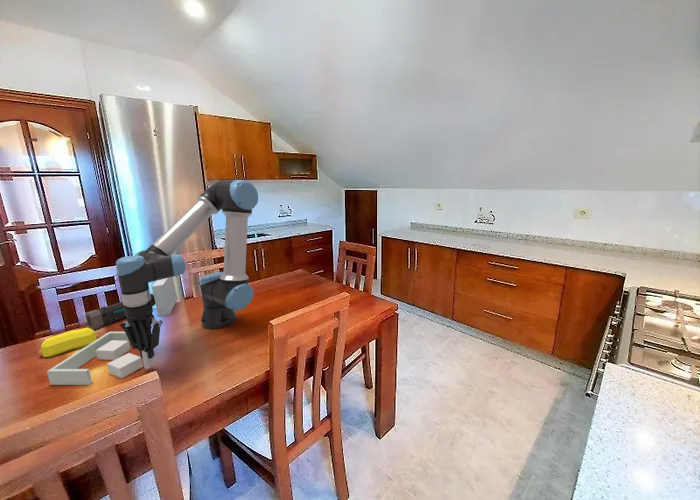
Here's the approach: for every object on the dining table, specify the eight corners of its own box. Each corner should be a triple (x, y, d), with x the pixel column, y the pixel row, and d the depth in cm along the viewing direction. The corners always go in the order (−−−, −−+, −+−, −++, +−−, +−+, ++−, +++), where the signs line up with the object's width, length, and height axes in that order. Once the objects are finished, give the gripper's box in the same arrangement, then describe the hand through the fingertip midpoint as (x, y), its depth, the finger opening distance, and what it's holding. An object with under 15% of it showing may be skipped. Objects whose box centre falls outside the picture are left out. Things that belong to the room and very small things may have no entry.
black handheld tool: (162, 311, 156) (93, 331, 130) (155, 312, 159) (86, 331, 133) (158, 291, 156) (89, 306, 129) (151, 292, 159) (81, 307, 132)
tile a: (130, 350, 117) (128, 340, 116) (115, 360, 110) (113, 351, 109) (113, 349, 117) (111, 340, 117) (97, 359, 111) (95, 350, 110)
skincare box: (166, 300, 164) (161, 272, 160) (177, 299, 166) (173, 271, 162) (156, 316, 144) (151, 285, 141) (169, 314, 146) (164, 284, 143)
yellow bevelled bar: (39, 353, 115) (39, 362, 109) (34, 338, 113) (34, 346, 108) (99, 336, 127) (101, 343, 122) (96, 322, 126) (98, 328, 120)
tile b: (143, 367, 106) (141, 357, 105) (121, 379, 100) (119, 368, 99) (130, 362, 109) (128, 352, 108) (109, 373, 103) (107, 363, 102)
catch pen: (142, 342, 122) (140, 331, 120) (89, 384, 97) (85, 371, 96) (111, 342, 122) (109, 331, 121) (50, 384, 97) (46, 371, 96)
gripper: (164, 298, 102) (174, 359, 107) (126, 298, 102) (138, 359, 107) (149, 307, 95) (161, 372, 100) (109, 307, 95) (122, 372, 100)
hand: (149, 365), depth 104 cm, fingers closed
